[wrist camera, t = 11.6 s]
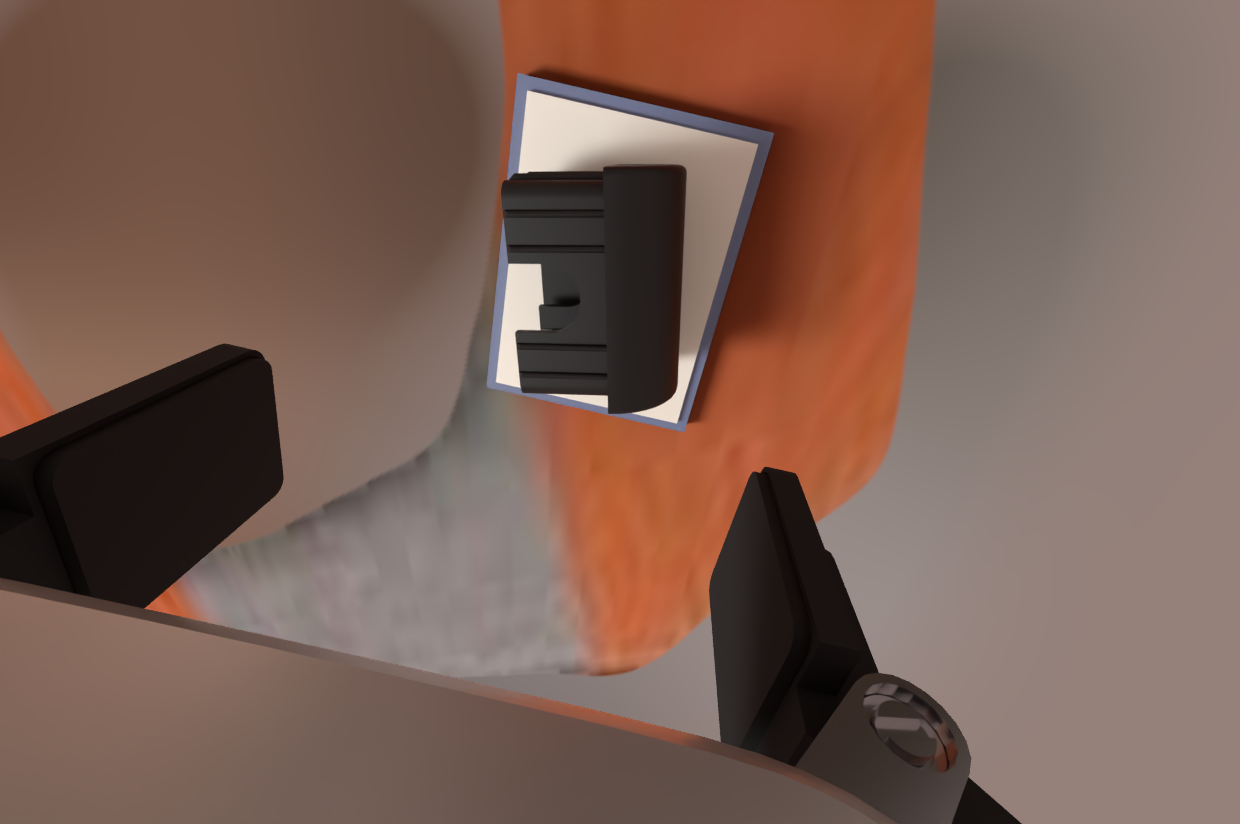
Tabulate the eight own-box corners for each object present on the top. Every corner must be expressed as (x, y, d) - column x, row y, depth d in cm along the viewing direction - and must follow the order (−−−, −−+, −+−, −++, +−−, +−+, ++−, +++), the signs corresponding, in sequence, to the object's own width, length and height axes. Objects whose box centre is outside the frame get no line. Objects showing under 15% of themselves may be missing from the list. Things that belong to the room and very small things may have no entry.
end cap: (677, 363, 29) (677, 419, 23) (550, 360, 30) (518, 413, 24) (685, 163, 25) (688, 165, 18) (536, 164, 25) (493, 167, 19)
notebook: (523, 75, 25) (515, 72, 24) (770, 133, 25) (775, 132, 24) (491, 380, 32) (485, 389, 31) (684, 424, 32) (684, 434, 31)
